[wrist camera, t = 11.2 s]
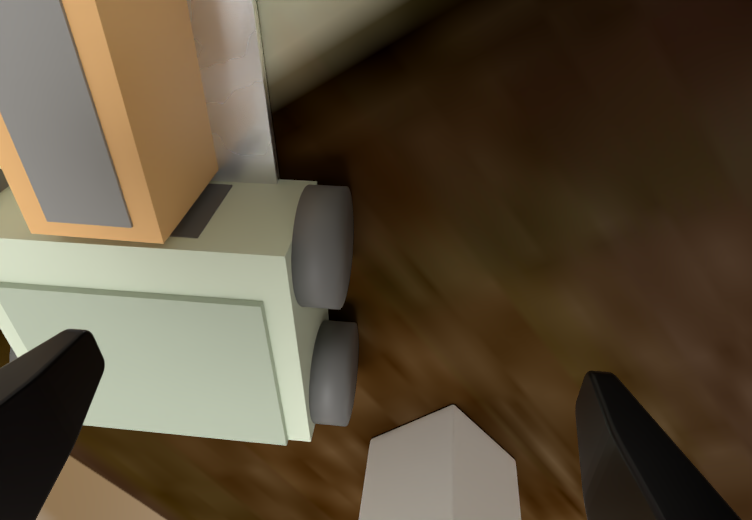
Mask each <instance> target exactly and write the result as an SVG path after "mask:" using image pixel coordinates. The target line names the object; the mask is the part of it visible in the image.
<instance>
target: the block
mask: <svg viewBox="0 0 752 520" xmlns="http://www.w3.org/2000/svg"><path fill="white" fill-rule="evenodd" d="M0 167H1V169H2V171H3V173H4V175H5V178H6V180H7V182H8V184H9V186H10V189H11V191H12V193H13V195H14V197H15V199H16V202H17V204H18V206H19V208H20V210H21V213H22V215H23V217H24V219H25V221H26V224H27V226H28V228H29V230H30V232H31V234H44V235H56V236H69V237H82V238H95V239H108V240H120V241H133V242H146V243H159V244H164V243H165V241H166V240H167V239H168V237H169V236H170V235H171V233H172V232H173V231H174V229H175V228H176V227H177V225H178V224H179V223H180V221H181V220H182V219H183V217H184V216H185V215H186V213H187V212H188V210H189V209H190V208H191V206H192V205H193V204H194V202H195V201H196V200H197V198H198V197H199V196H200V194H201V193H202V192H203V190H204V189H205V188H206V186H207V185H208V184H209V182H210V181H211V180H212V178H213V177H214V175H215V174H216V173H217V171H218V170H219V169H218V164H217V159H216V153H215V148H214V143H213V137H212V132H211V127H210V122H209V116H208V111H207V106H206V100H205V95H204V90H203V84H202V79H201V74H200V68H199V63H198V58H197V53H196V47H195V42H194V37H193V31H192V26H191V21H190V15H189V10H188V5H187V0H0Z"/></svg>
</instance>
